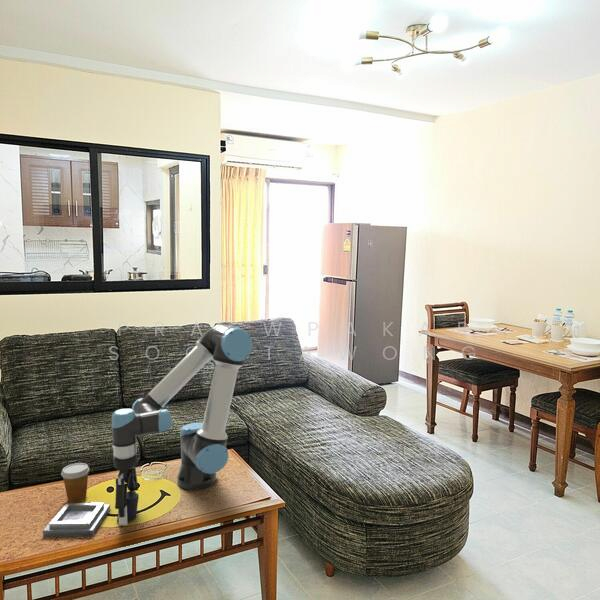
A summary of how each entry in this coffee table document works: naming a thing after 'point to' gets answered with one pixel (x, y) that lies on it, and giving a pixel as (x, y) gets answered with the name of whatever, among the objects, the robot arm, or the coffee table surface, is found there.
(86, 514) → the white square tray
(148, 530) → the coffee table surface
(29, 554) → the coffee table surface
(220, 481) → the coffee table surface
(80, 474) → the disposable coffee cup
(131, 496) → the speaker
